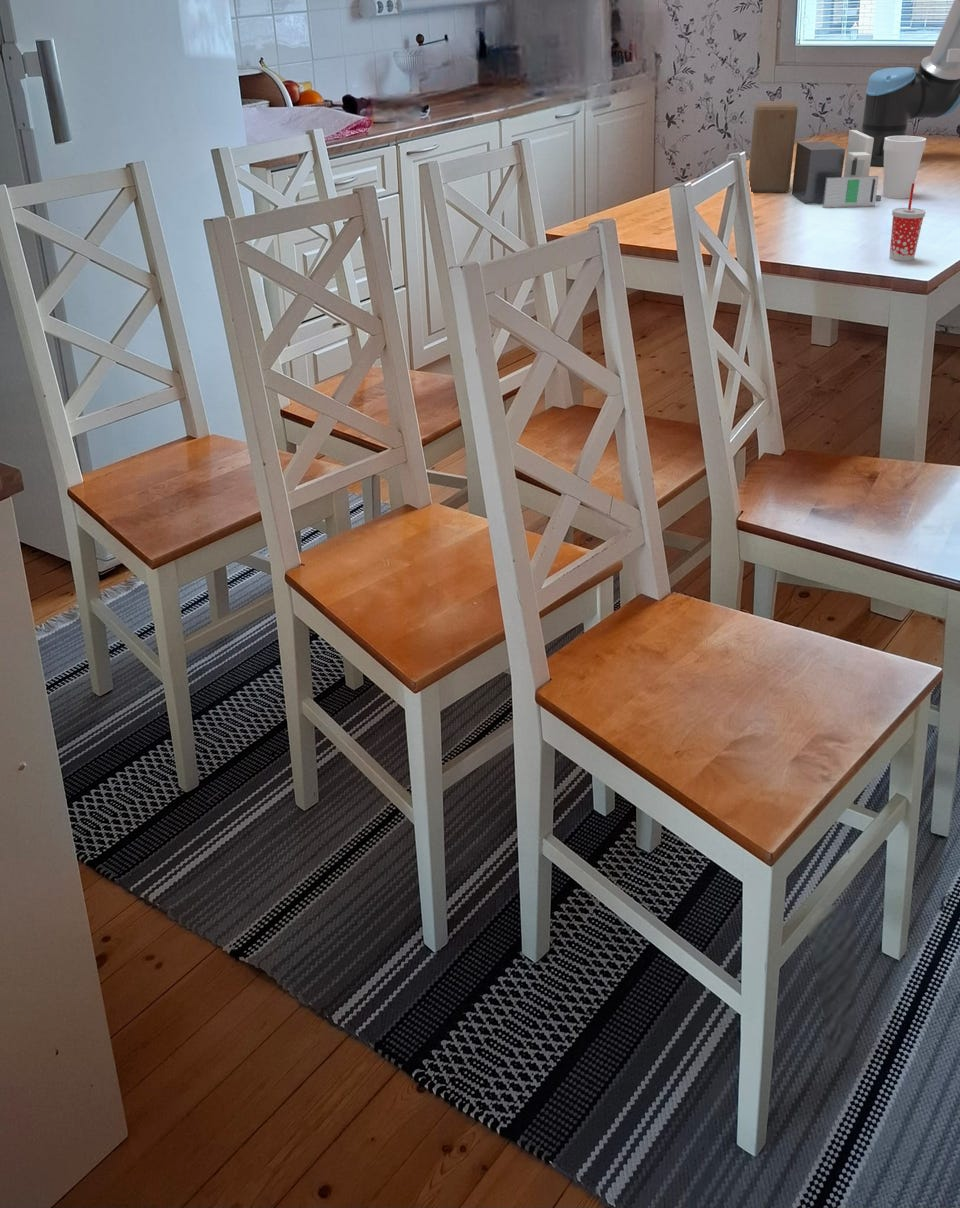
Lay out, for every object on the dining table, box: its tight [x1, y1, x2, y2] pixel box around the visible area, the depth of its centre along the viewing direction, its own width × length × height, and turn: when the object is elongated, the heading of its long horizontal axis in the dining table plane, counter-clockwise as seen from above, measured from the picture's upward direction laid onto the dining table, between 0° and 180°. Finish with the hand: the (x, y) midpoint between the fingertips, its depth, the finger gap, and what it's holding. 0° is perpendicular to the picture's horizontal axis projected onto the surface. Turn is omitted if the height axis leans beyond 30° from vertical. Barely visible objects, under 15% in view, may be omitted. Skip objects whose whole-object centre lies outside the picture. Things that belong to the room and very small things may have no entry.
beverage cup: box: [888, 182, 926, 262], centre depth 226 cm, size 6×6×14 cm
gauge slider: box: [843, 129, 874, 177], centre depth 276 cm, size 6×17×13 cm, turn 3°
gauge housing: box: [791, 140, 882, 209], centre depth 277 cm, size 18×17×12 cm
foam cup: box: [882, 135, 927, 200], centre depth 279 cm, size 10×9×13 cm
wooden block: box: [748, 100, 799, 194], centre depth 288 cm, size 10×10×20 cm
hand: (959, 58), depth 268 cm, fingers open, 13 cm apart
